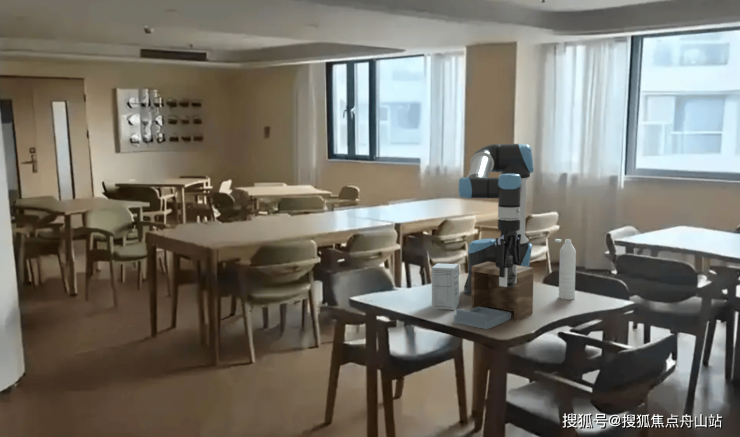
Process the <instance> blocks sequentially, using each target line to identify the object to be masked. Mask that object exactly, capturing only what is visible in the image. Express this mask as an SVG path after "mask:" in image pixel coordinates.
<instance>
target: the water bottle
mask: <svg viewBox="0 0 740 437" xmlns="http://www.w3.org/2000/svg"><path fill="white" fill-rule="evenodd" d="M554 241H555V243H561V242H562V239H559V238H555V239H554ZM572 243H573V242H572V239H571V238H565V241H564V243H563V244H562V246H561V248H560V249H559V267H558V268H559V269H558V270H559V271H558V272H559V274H558V282H559V283H558V299H560V298H561V300H565V301H566V300H567V301H568V300H569V301H571V300H575V298H576V295H575V294H576V293H575V292H576V262H577V260H576V258H577V250H576V248H575V247H574V245H573V244H572Z"/></svg>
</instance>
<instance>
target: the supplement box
mask: <svg viewBox="0 0 740 437" xmlns="http://www.w3.org/2000/svg"><path fill="white" fill-rule="evenodd" d="M459 267H460V264H459V263H437V262H436V264H434V265H433V266H432V267H431V309H434V310H446V311H447V310H451V311H456V310H457V309H458V306H459V305H460V273H459V272H460V268H459Z"/></svg>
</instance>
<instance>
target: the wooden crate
mask: <svg viewBox="0 0 740 437" xmlns="http://www.w3.org/2000/svg"><path fill="white" fill-rule="evenodd" d="M534 273H535V272H534V267H530V266H529V267H525V266H517V283H513V284H515V285H516V286H515V287H502V286H499V268H498V267H496V263H495V262H484V263H481V264H477V265H474V266H472V275H471V295H470V296H471V298H470V309H473V308H475V307H478V306H479V307H485V308H489V307H490V308H493V309H495V308H496V309H498V310H499V309H500V310H504V311H505V310H506V311H510V310H511V312H514V321H516V320H517V321H520V320H522V319H525V318H526V316H527V317H529V316H531V315H533V314H534V311H533V307H534Z"/></svg>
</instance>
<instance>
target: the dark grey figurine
mask: <svg viewBox="0 0 740 437" xmlns="http://www.w3.org/2000/svg"><path fill="white" fill-rule="evenodd" d="M506 268H507V287H515V286H516V285H515V284H513V282H514V281H515V279H516V277H517V276H516V275H515V274H513V256H512V255H510V254H509V252H508V258H507V264H506ZM502 287H503V286H502Z"/></svg>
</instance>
